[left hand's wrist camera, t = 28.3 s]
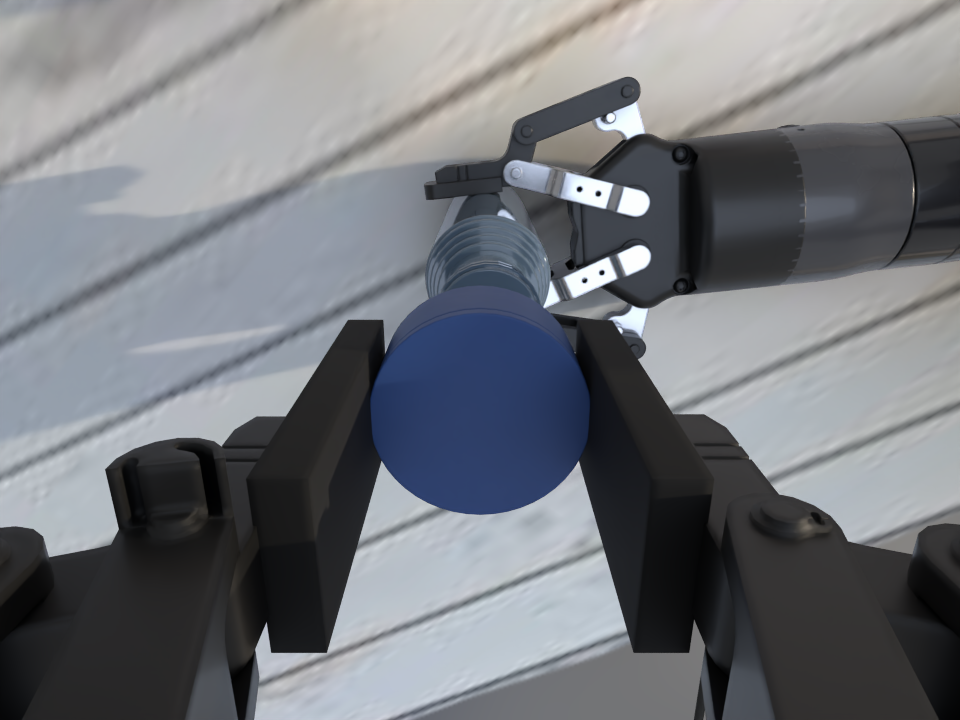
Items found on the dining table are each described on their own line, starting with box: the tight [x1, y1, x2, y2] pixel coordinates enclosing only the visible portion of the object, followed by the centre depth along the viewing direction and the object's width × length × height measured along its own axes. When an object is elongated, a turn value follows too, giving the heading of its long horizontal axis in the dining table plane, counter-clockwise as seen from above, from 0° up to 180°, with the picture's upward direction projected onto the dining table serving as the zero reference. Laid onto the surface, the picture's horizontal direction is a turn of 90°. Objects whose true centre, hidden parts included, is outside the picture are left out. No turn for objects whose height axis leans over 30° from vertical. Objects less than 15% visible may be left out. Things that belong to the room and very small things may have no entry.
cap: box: [370, 286, 590, 515], centre depth 13 cm, size 4×4×2 cm
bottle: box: [425, 186, 551, 307], centre depth 29 cm, size 5×5×20 cm
